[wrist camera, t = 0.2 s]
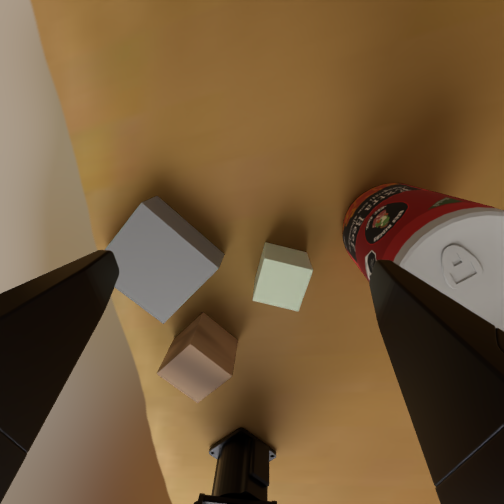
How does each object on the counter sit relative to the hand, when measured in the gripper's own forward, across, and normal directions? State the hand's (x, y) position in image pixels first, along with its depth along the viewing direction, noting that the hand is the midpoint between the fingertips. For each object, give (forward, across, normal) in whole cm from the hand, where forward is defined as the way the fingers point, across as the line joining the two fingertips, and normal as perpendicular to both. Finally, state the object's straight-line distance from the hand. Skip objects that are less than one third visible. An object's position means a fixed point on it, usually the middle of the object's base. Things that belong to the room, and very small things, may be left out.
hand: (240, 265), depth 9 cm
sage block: (+13, -2, +10) cm, 17 cm away
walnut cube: (+11, +6, +19) cm, 23 cm away
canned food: (+14, -11, +6) cm, 19 cm away
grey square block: (+14, +9, +9) cm, 19 cm away
